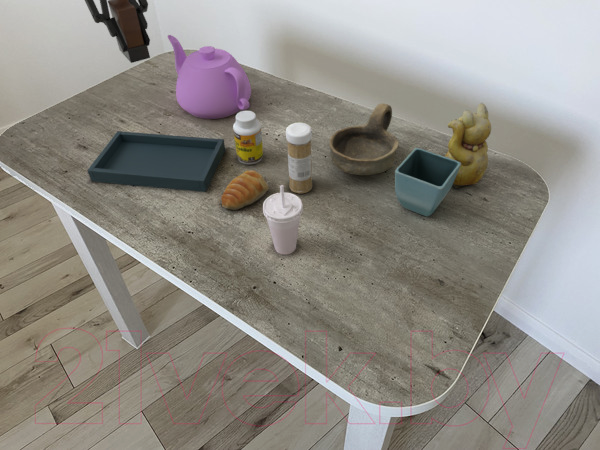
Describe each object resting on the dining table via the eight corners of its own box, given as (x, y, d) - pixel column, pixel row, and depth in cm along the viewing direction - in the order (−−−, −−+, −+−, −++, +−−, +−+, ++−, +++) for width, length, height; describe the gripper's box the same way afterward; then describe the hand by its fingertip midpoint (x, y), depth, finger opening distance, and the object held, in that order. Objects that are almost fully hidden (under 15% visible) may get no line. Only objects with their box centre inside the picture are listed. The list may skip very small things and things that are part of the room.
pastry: (239, 218, 88) (237, 202, 86) (212, 204, 91) (209, 189, 89) (271, 190, 94) (270, 175, 91) (245, 178, 97) (242, 163, 94)
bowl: (314, 172, 97) (314, 130, 90) (357, 131, 108) (360, 90, 101) (374, 196, 92) (379, 153, 85) (414, 151, 102) (421, 109, 95)
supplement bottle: (232, 161, 101) (225, 118, 94) (246, 147, 104) (241, 105, 97) (254, 168, 99) (249, 126, 91) (268, 154, 102) (265, 112, 95)
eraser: (119, 50, 111) (105, 0, 103) (138, 45, 112) (125, -5, 105) (131, 63, 106) (116, 11, 98) (150, 57, 108) (137, 7, 100)
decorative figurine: (458, 159, 99) (475, 93, 89) (493, 177, 95) (515, 110, 84) (429, 179, 95) (443, 112, 84) (464, 199, 90) (484, 131, 80)
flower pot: (409, 184, 94) (415, 145, 88) (452, 200, 90) (462, 161, 84) (388, 209, 89) (393, 171, 83) (433, 228, 85) (442, 189, 79)
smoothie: (268, 262, 80) (262, 199, 71) (264, 235, 85) (258, 173, 75) (306, 257, 81) (305, 194, 71) (300, 231, 86) (298, 168, 76)
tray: (91, 181, 97) (87, 170, 95) (121, 141, 107) (117, 130, 105) (206, 192, 94) (203, 181, 92) (225, 150, 104) (223, 139, 102)
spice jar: (311, 179, 96) (311, 120, 86) (312, 194, 93) (312, 135, 83) (288, 180, 96) (285, 121, 86) (288, 195, 93) (285, 136, 83)
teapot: (274, 102, 117) (270, 47, 108) (222, 135, 108) (213, 78, 98) (203, 73, 129) (194, 21, 119) (151, 101, 119) (136, 47, 110)
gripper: (129, -53, 110) (172, 43, 111) (50, -39, 103) (96, 63, 105) (131, -75, 103) (176, 28, 104) (46, -61, 96) (96, 48, 98)
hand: (136, 45), depth 105 cm, fingers closed on eraser, 4 cm apart
